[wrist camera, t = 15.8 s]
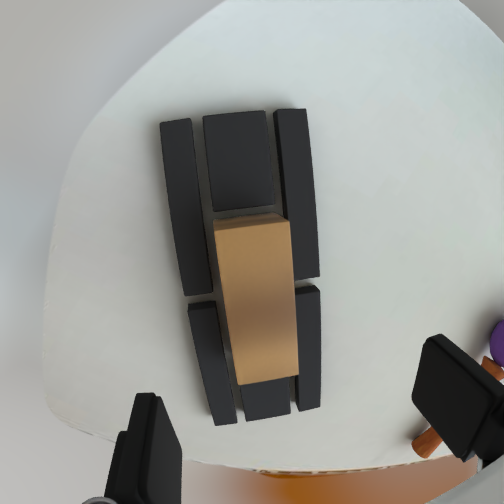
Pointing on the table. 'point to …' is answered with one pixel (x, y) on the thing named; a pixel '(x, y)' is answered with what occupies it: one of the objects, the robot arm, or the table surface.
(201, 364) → the pad
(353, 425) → the table surface
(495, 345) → the kendama
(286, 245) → the block
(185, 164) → the pad
